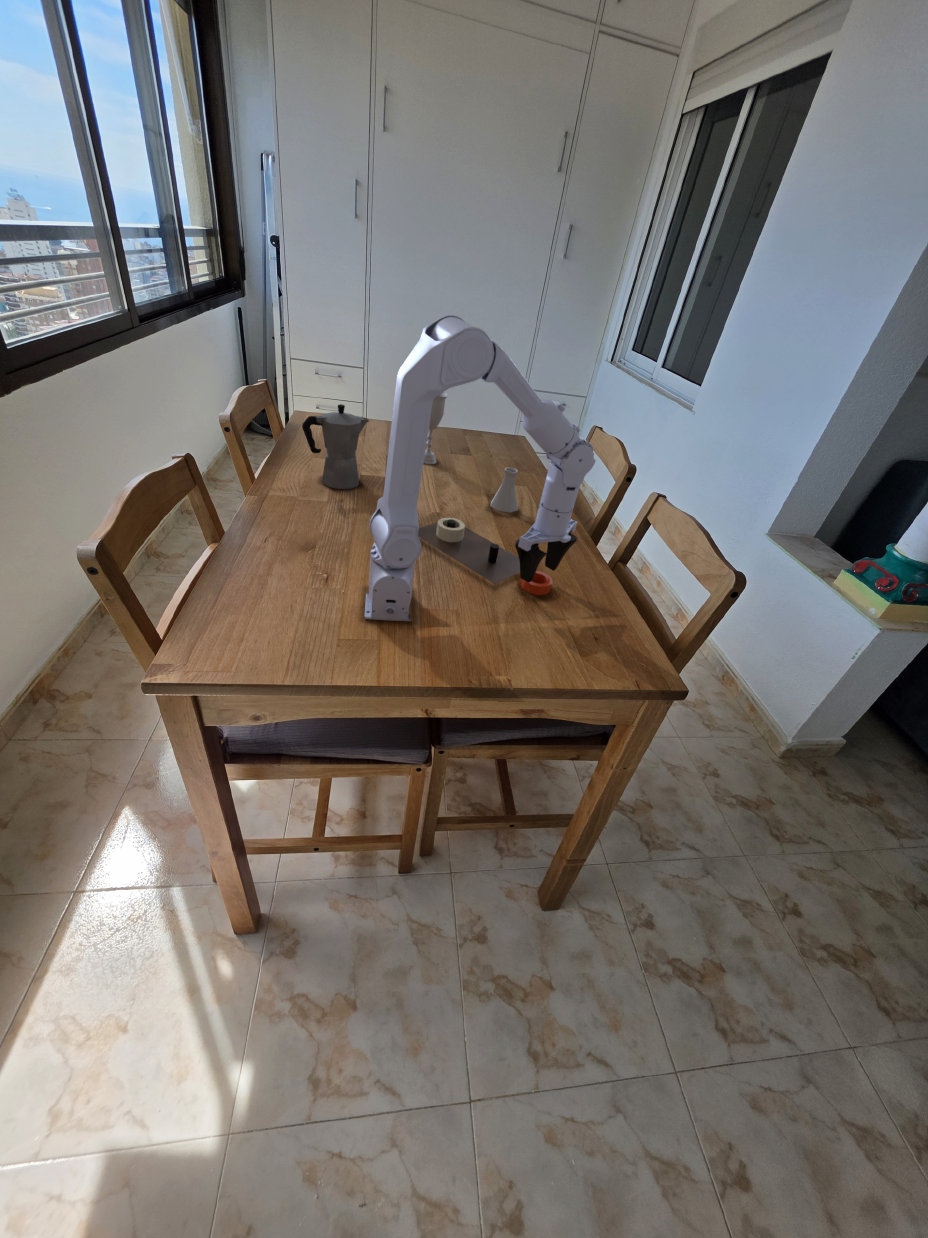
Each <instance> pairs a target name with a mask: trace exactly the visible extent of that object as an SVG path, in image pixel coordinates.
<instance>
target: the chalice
mask: <svg viewBox="0 0 928 1238" xmlns="http://www.w3.org/2000/svg"><path fill="white" fill-rule="evenodd" d="M448 396H449V395H448V393H447V392H446V391H444V392H443V393H441V394H440V395H438V396H437V397H435V398H434V399H433V404H432V410H431V417H430V423H429V430H428V436H427V443H426V449H425V456H424V462H423V464H425V465H435V464H437V459H436V455H435V453H434V452H433V451H432V449H431V448H432V445H433V442H432V439H433V438H434V435H433V431H434V430H436V429H437V428H438V426H439V425H440V423H441V422H442V419H443V417H444V413H445V406H446V399H447V398H448Z"/></svg>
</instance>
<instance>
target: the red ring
mask: <svg viewBox="0 0 928 1238" xmlns="http://www.w3.org/2000/svg"><path fill="white" fill-rule="evenodd" d="M552 585H553V578H552V577H551V576H550V575H549V574H547V573H545V572H544V571H539V570H536V572H535V575H534V577H533V579H532V581H531V582H529V583H528V582H526V581H525V580H523V579H521V580H520V587H521V588H522V590H523V591H525V592H527V593H529V594H532V595H534V596H545V595H547V594H549V593H550V592H551V588H552Z"/></svg>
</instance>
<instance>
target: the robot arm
mask: <svg viewBox="0 0 928 1238" xmlns="http://www.w3.org/2000/svg"><path fill="white" fill-rule="evenodd" d="M397 371H398V372H397V375H396V380H395V381H396V383H395V390H394V398H393V409H392V417H391V425H390V434H389V441H388V451H387V460H386V470H385V477H384V488H383V493H382V494H383V495H382V496H381V497H380V498H378V500H377V505H376V508H375V511H374V512H373V514H372V515H371V517H370V520H369V522H368V523H369V525H368V526H369V527H368V528H369V532H370V533H371V536H372V537H373V539H374V543H373V545H372V546H371V550H370V555H369V558H370V559H369V575H368V576H369V579H368V592H366V593H365V603H364V604H365V607H364V619H366V620H374V621H392V622H393V621H394V622H412V619H411V617H410V604H411V602H412V597H413V595H412V594H413V586H414V584H413V583H414V575H415V565H416V562H417V561H418V560H419V558H420V556H421V554H422V543H421V540H420V537H418V530H419V528H420V523H419V522H420V521H419V514H418V502H419V494H420V488H421V482H422V481H421V480H422V475H423V468H424V463H423V462H424V456H425V451H426V450H427V444H426V443H427V442H428V437H427V436H428V434H429V423H430V417H431V410H432V404H433V399H434V398H435V397H437V396H438V395H440V394H441V393H443V392H446V391H447V390H449V389H451V388H454V387H459V386H463V385H466V384H469V383H473V382H476V381H478V380H480V379H481V380H482V381H484V382H485V383H493V384H495V386H497V388H498V389H499V390H500V391H501V392H502V393H503V394H504V395H505V396H506V397H507V399H509V401H511V403H512V404H513V405H514V406H515V407H516V408H517V410H519V411H520V413H522V414H523V417H522V427H523V429H524V431H525V432H526V433H527V434H528V435H529V436H530V437H531V438H532V439H533V441H534V442H535V443H536V444H537V445H538V446H539V447H540V449H541V450H542V451H543V452H544V453H545V457H546V459H547V460H550V462H549V465H548V469H547V473H546V477H545V481H544V485H543V489H542V494H541V497H540V501H539V504H538V509H537V512H536V517H535V520H534V523H533V524H532V525H531V526H530V528H529V529H528V530H527V531H526V532H525V533H524V534H523V535H521V536H520V537H519V539H516V540H515V543H514V547H515V550H516V553H517V555H518V556H517V557H519V561H520V572H519V576H520V579H521V580H522V579H523V580H525V581H526V582H528V583H529V582H531V581H532V579H533V577H534V575H535V572H536V571H538V567H539V565H540V563H541V562H542V560H543V559H544V558H545V559H544V566H545V567H546V568H548V569H549V570H552V572H554V571H556V570H557V568H558V566H559V565H560V563H561V562H562V560H563V558H564V557H565V555H566V554H567V552H568V551H569V550H570V548H572V546H574V544H576V543H577V541H578V537H577V536H576V535H575V534H573V533H574V532H575V531H576V529H577V525H578V521H576V520H573V519H572V514H573V512H574V507H575V505H576V500H577V497H578V494H579V491H580V487H581V485H582V484H583V483H584V479H585V477H586V476H587V474H588V473H589V472H590V471H591V470H592V469H593V467H594V466H595V464H596V461H597V460H596V459H595V457H594V456H595V453H594V447H593V445H592V443H591V442H589V441H588V440H586V439H585V438H583V437H582V436H581V435H580V432H581V428H580V426H578V425H577V424H575V423H572V421H570V419H569V418H568V417H567V415H566V414H565V413H564V411H565V410H566V408H565V406H564V405H563V403H562V402H560V401H558V400H556V401H554V400H553V399H552V398H540V396H539V395H538V394H537V392H536V391H535V389H534V388H533V387H532V385H531V384H530V383H529V381H528V380H527V379H526V377H525V376H524V375H523V373H522V372H521V371H520V369H519V368H518V366H517V365H516V364H515V362H514V361H513V359H511V357H510V355H509V354H508V353H507V352H506V351H505V350H504V349H503V348H502V347H501V346H500V345H499V344H498V343H496V341H494V340H492V339H491V337H490V335H489V334H488V333H487V332H486V331H485V330H483V329H482V328H480V327H477V326H473V325H472V324H469V323H468V322H466V321H465V320H463V318H461V317H460V316H458V315H455V314H446V315H443V316H440V317H439V318H437V319H435V320H434V321H432V322H430V323H428V324H427V325H426V326H424V327H423V329H422V332H421V335H420V337H419V340H418V341H417V343H416V344H415V345H414V347H413V349H412V350H411V352H410V353H409V354H408V356H407V357H406V359H405V360H404V361H403V363H402V364H401V366H400V367H399V370H397ZM543 543H544V544H545V543H547V545H546V547H547V549H546V552H545V551H543V550H542V549H540V546H539V545H540V544H543ZM532 582H533V581H532Z"/></svg>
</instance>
